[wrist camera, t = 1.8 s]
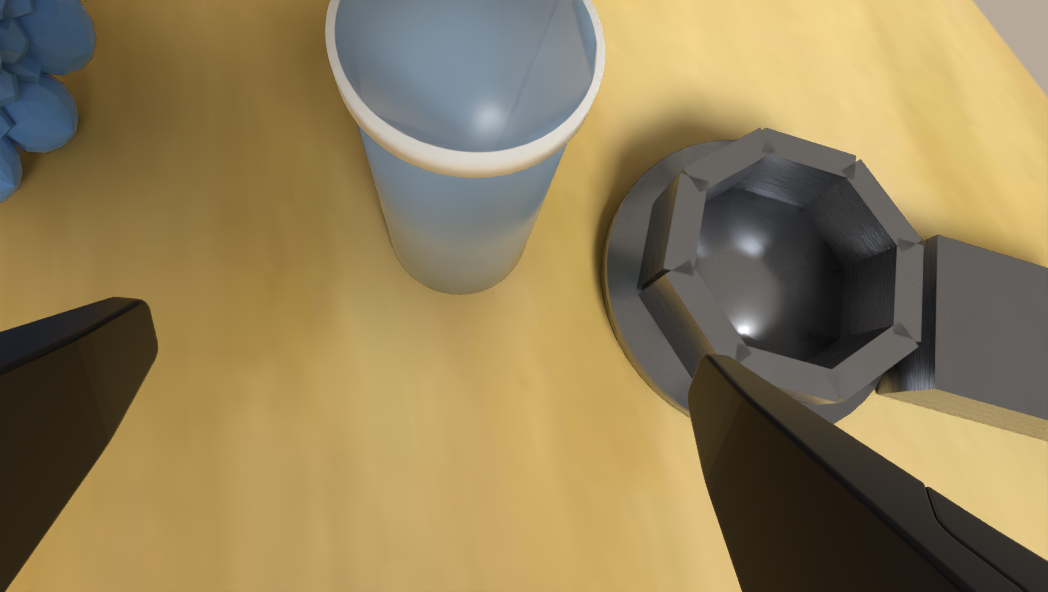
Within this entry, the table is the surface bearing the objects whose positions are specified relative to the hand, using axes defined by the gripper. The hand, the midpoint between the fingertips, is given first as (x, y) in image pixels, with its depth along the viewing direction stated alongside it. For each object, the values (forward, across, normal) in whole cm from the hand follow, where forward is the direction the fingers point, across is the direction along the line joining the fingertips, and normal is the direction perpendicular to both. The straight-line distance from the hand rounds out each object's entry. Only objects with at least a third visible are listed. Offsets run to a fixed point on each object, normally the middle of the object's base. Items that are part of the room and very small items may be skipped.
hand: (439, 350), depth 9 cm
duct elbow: (+16, 0, +3) cm, 16 cm away
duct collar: (+14, -18, +6) cm, 23 cm away
